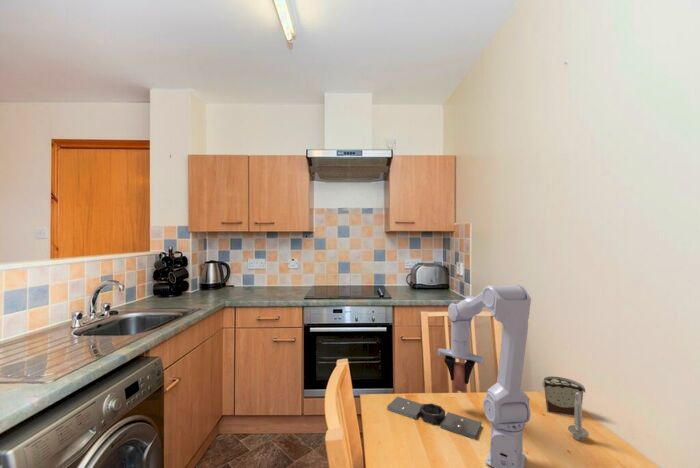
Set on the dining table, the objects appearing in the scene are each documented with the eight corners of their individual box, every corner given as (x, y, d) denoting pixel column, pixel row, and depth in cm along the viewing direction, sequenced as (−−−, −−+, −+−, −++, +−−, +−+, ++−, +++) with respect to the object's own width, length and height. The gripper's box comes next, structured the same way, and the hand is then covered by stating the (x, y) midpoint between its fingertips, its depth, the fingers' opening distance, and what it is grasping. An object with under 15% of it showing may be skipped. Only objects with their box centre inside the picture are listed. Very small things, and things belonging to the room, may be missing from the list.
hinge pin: (464, 392, 100) (464, 367, 101) (452, 389, 103) (452, 364, 103) (467, 387, 104) (467, 363, 104) (455, 384, 106) (455, 361, 106)
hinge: (475, 439, 87) (475, 430, 87) (387, 409, 102) (387, 401, 102) (481, 426, 94) (481, 417, 94) (397, 399, 109) (397, 392, 109)
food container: (577, 408, 105) (577, 378, 106) (586, 417, 100) (585, 386, 100) (536, 402, 109) (536, 373, 109) (542, 411, 103) (542, 381, 103)
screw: (569, 440, 88) (566, 431, 92) (590, 445, 85) (586, 436, 90) (569, 393, 88) (566, 386, 92) (590, 397, 86) (586, 390, 90)
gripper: (485, 340, 103) (485, 382, 103) (442, 333, 111) (441, 371, 111) (481, 346, 97) (481, 390, 97) (435, 338, 105) (435, 378, 105)
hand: (459, 381), depth 103 cm, fingers closed on hinge pin, 4 cm apart
